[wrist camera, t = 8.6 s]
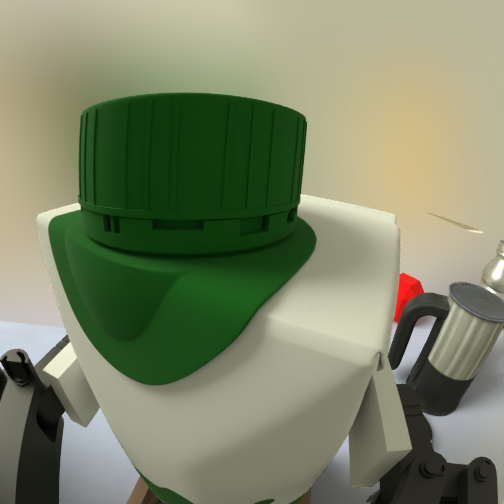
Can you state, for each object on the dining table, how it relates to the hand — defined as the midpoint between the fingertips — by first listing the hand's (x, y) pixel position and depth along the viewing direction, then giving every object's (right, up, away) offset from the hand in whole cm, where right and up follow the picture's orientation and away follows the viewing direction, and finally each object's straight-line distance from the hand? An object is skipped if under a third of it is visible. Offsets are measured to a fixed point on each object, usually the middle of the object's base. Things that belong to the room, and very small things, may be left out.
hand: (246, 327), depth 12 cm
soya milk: (-1, -12, +2) cm, 13 cm away
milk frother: (+22, -17, +14) cm, 30 cm away
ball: (+27, -9, +35) cm, 45 cm away
